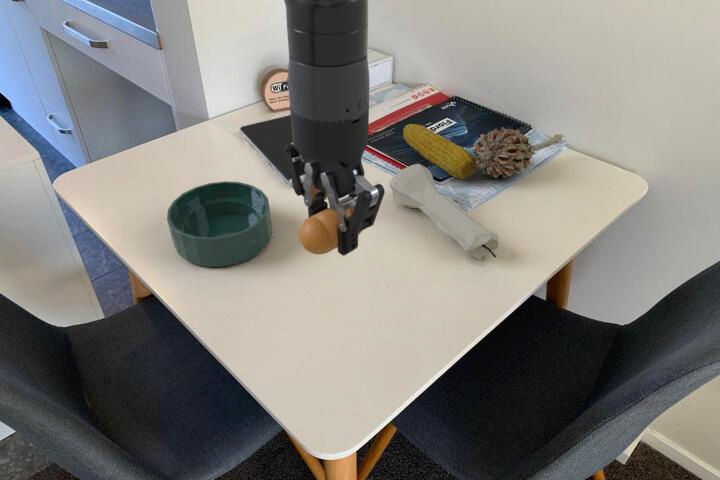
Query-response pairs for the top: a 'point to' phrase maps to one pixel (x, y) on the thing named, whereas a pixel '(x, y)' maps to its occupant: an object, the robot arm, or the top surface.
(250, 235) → the green round bowl
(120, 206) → the top surface
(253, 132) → the smartphone
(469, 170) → the food
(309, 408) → the top surface
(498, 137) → the pine cone
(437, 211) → the faceted club
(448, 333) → the top surface
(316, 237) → the bread roll
